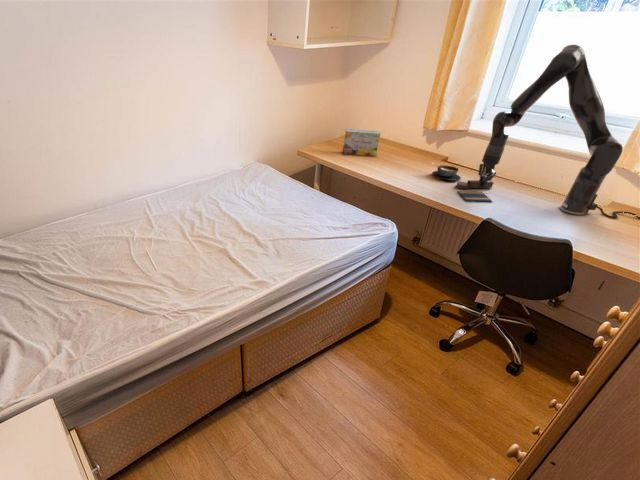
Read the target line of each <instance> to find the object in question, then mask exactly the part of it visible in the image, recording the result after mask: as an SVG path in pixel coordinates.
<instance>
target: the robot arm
mask: <svg viewBox="0 0 640 480" xmlns="http://www.w3.org/2000/svg"><path fill="white" fill-rule="evenodd" d="M587 61H588V60H587V57H586V53H585V51H584V48H582V47H581V46H580V45H577V44H569V45H566V46H564V47H563V48H562V49H560V50H559V51H558V52H557V53H556V54H555V55H554V56H553V58H552V59H551V61H550V62H549V64H548V65H547V66H546V67H545V69H544V70H543V72H542V73H541V75H539V77H537V79H536V80H535V81H534V82H533V83H532V84H530V85H529V86H528V87H527V88H526V89H525V90H524V91H522V93H520V94H519V95H518V96H517V98H515V100H513V102H512V103H511V105H510V109H511V110H510V111H509V110H508V111H500V112H498V113H497V114H496V115H495V116H494V117H493V120H492V130H491V136H490V139H489V142H488V144H487V146H486V148H485V151H484V154H483V157H482V159H481V162H482V163H479V166H478V167H479V168H478V176H479V180H482V183H481V185H480V187H485V186H486V183H487V181H492V179H493V178H494V177H495V176H496V174H497V171H495V168H496V166H497V165H498V164H500V162H501V159H502V156H503V154H504V151H505V147H506V144H507V142H508V139H509V136H510V135H509V133H508V132H507V131H505V128H510V127H515V126H516V125H518V123H519V122H520V121H521V120H522V118H523V117H524V116H525V114H526V112H527V111H528V110H529V109H530V108H532V106H534V104H535V103H536V102H537V101H539V100H540V99H541V98H542V97H543V95H545V93H546V92H547V91H548V90H549V89H550V88H552V87H553V86H554V85H555V84H557V83H558V82H559V81H561V80H562V79H563V78H565V79H566V82H567V86H568V105H569V108H570V111H571V112H572V114H573V117H574V119H575V121H576V123H577V124H578V126H579V128H580V129H581V131H582V132H583V136H584V138H585V141H586V146H587V150H588V153H589V155H590V158H589V159H588V161H587V163H586V164H585V166H582V167H581V168H580V170H579V172H578V174H577V175H576V177H575V179H574V181H573V183H572V185H571V187H570V189H569V191H568V193H567V194H566V196H565V198H564V201H562V203H561V205H560V207H559V209H560V210H561V211H563V212H564V213H567V214H570V215H574V216H583V215H588V214H589V211H595V210H597V209H598V210H600V213H601V214H602V215H603V216H605V217H608V218H610V219H617V218H618V215H617V214H627V213H628V214H627V215H631V214H632V216H634V215H637V214H636V213H634V212H630V211H621V210H620V211H619V210H615V211H613V212H612V215H609V214H607V213H605V212H604V210H603V208H602V207H600V206H598V204H597V203H595V201H596V199H597V197H598V194H597V193H598V191H599V190H600V188H601V186H602V184H603V182H604V180H605V179H606V177H607V175H609V174H610V173H611V172H612V170H613V169H614V167H615V165H616V164H617V162H618V161H619V159H620V157H621V156H622V153H623V151H624V150H623V149H624V148H623V145H622V143H621V142H620V141H618V140H616V139H615V137H614V136H613V134H612V133H611V132H610V129H609V128H608V126H607V123H606V122H607V121H606V111H605V110H606V109H605V106H604V103H603V101H602V97H601V96H600V94H599V91H598V89H597V86H596V84H595V82H594V80H593V77H592V75H591V73H590V70H589V65H588V62H587ZM623 212H624V213H623ZM638 216H639V215H638ZM638 216H635V218H637V219H638V220H640V216H639V217H638ZM605 282H606V280H603V281H602V283H601V284H599V286H598V288H597V291H600V290H601V288H603V285H604V284H605Z"/></svg>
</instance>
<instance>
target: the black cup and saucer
mask: <svg viewBox="0 0 640 480" xmlns="http://www.w3.org/2000/svg"><path fill="white" fill-rule="evenodd" d="M431 164H433V165H435V166H436V167H437V170H434V171H432V172H431V175H432V176H433V177H435V179H440V180H445V181H458V180H461V179H462V177H461V176H460V175H458V172H459V168H458V167H455V166H453V165H437V164H435V163H434V162H431Z"/></svg>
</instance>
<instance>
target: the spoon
mask: <svg viewBox="0 0 640 480" xmlns="http://www.w3.org/2000/svg"><path fill="white" fill-rule="evenodd" d="M481 183H482V180H480V179H478V180H475V179H467V182H466V181H458V182H456V188H460V189H468V188H475V189H476V188H478V189H482V188H483V189H492V187H493V185H494V183H495V182H494V181H493V180H490V181H487V183H486V186H485V187H480V185H481Z"/></svg>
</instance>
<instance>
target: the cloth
mask: <svg viewBox="0 0 640 480" xmlns="http://www.w3.org/2000/svg"><path fill="white" fill-rule="evenodd" d="M456 193H457V194H458V195H459V196H460V197H461V198H462V199H463V200H464V201H465V202H466V203H467V202H469V203H470V202H471V203H492V202H493V201H492V199H491V198H490V197H489V196H487V195H486V194H485V193H484V192H483V191H467V190H466V191H463V190H458V191H457V192H456Z"/></svg>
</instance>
